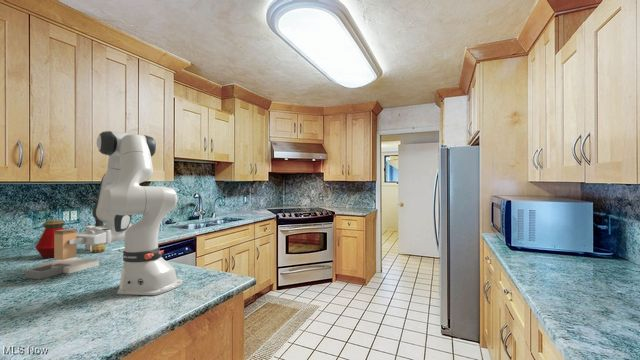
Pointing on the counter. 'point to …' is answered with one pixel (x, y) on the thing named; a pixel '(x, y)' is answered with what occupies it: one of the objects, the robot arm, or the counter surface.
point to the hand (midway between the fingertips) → (63, 241)
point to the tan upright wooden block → (64, 244)
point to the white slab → (60, 267)
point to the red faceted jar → (48, 238)
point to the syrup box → (87, 246)
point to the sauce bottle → (99, 247)
